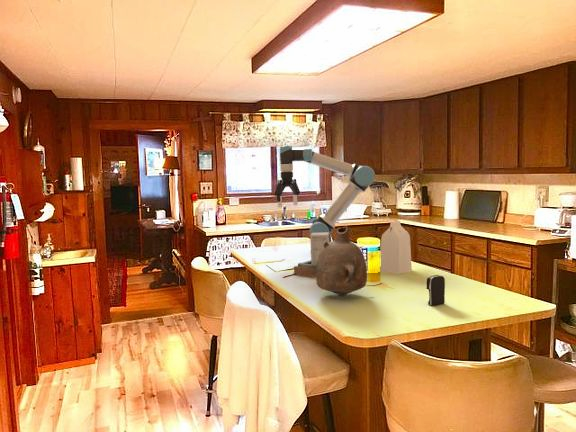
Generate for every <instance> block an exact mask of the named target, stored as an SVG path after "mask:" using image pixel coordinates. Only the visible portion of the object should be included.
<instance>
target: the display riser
mask: <svg viewBox="0 0 576 432" xmlns="http://www.w3.org/2000/svg"><path fill="white" fill-rule="evenodd" d="M316 266H317V265H311V259H310V260H306V261H303V262H299V263H297V265H295V266H293V274H294V275H298V276H304V277H309V278H314V279H316Z"/></svg>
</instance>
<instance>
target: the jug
mask: <svg viewBox="0 0 576 432" xmlns="http://www.w3.org/2000/svg"><path fill="white" fill-rule="evenodd" d="M335 235H336V236H335V238H334V240H331V242H329V243H327V241H325V243H324V247H323V248H322V250H321V252H320V254H319V256H318V260H317V266H316V278H315V279H316V280H315V281H316V283H317V287H318V288H320V289H321V290H324V291H326V292H327V291H328V292H331V293H333V294H335V295H338V296H340V297H345V296H347V295H349V294H350V293H352V292H355V291H359V290H362V288H364V287H366V285H367V281H368V268H367V264H366V259H365V256H364V253H363V252H362V250H361V248H360V247H359V246H358V245H357V244H356V243H354V242H351V240H350V236H349V228H348V226H343V227H337V229H336V234H335Z"/></svg>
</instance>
